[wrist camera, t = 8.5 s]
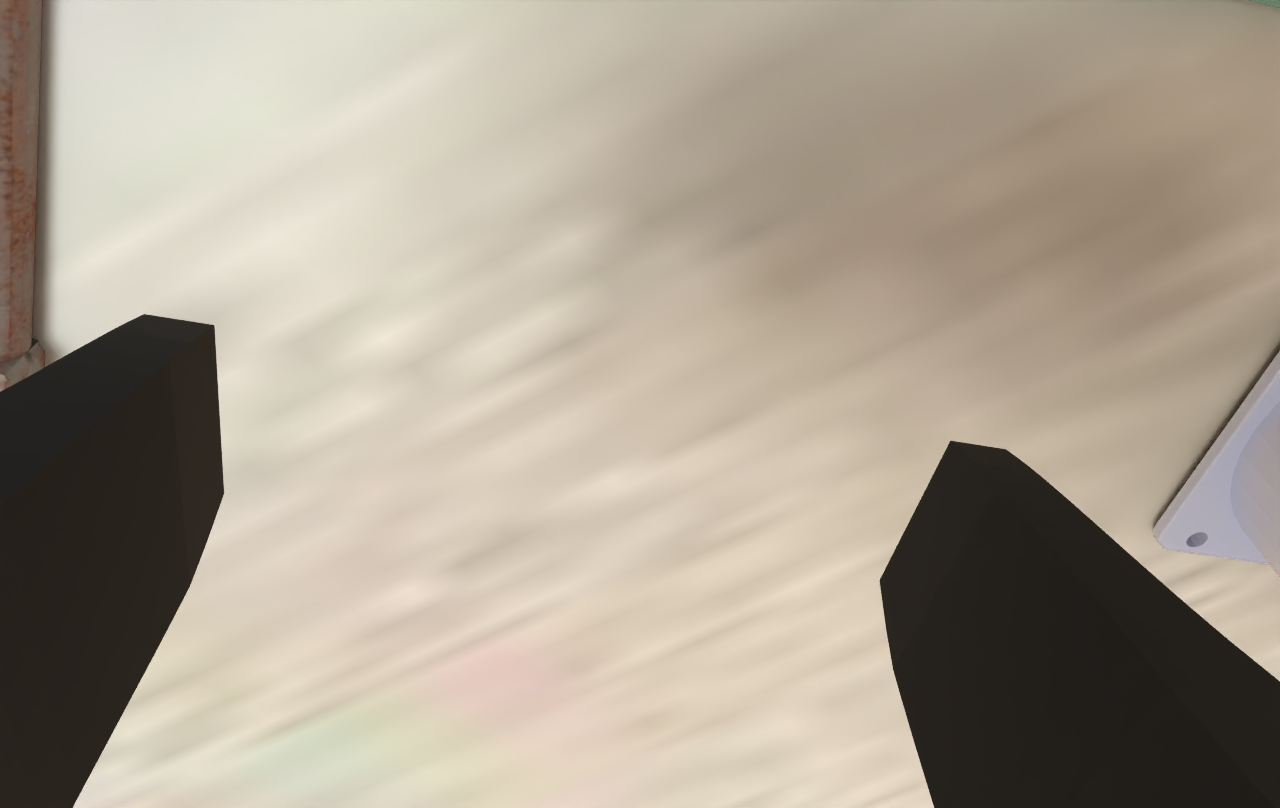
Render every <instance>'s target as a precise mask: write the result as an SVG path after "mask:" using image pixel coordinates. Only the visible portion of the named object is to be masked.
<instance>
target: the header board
mask: <svg viewBox="0 0 1280 808" xmlns="http://www.w3.org/2000/svg"><path fill="white" fill-rule="evenodd" d="M1249 1H1253V2H1258V3H1262V4H1266V5H1270V6H1274V7H1278V8H1280V0H1249Z"/></svg>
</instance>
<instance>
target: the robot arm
mask: <svg viewBox="0 0 1280 808" xmlns="http://www.w3.org/2000/svg"><path fill="white" fill-rule="evenodd" d="M223 495H224V485H223V468H222V451H221V433H220V416H219V399H218V381H217V364H216V347H215V329H214V325H209V324H203V323H196V322H190V321H184V320H177V319H171V318H165V317H158V316H152V315H145V314H144V315H142V316H140V317H138V318H135V319H133V320H131V321H129V322H127V323H125V324H123V325H121V326H119V327H117V328H115V329H114V330H112V331H110V332H108V333H106V334H104V335H102V336H101V337H99V338H97V339H95V340H93V341H91V342H90V343H88V344H86V345H84V346H82V347H81V348H79V349H77V350H75V351H73V352H72V353H70V354H68V355H66V356H64V357H63V358H61V359H59V360H57V361H55V362H54V363H52V364H50V365H48V366H46V367H45V368H43V369H41V370H39V371H37V372H36V373H34V374H32V375H30V376H28V377H27V378H25V379H23V380H21V381H19V382H17V383H16V384H14V385H12V386H10V387H8V388H6V389H4V390H3V391H1V392H0V808H73V806H74V804H75V802H76V800H77V798H78V796H79V794H80V793H81V791H82V789H83V787H84V785H85V783H86V781H87V779H88V778H89V776H90V774H91V772H92V770H93V768H94V766H95V764H96V763H97V761H98V759H99V757H100V755H101V753H102V751H103V749H104V748H105V746H106V744H107V742H108V740H109V738H110V736H111V734H112V733H113V731H114V729H115V727H116V725H117V723H118V721H119V720H120V718H121V716H122V714H123V712H124V710H125V708H126V706H127V705H128V703H129V701H130V699H131V697H132V695H133V693H134V691H135V690H136V688H137V686H138V684H139V682H140V680H141V678H142V677H143V675H144V673H145V671H146V669H147V667H148V665H149V663H150V662H151V660H152V658H153V656H154V654H155V652H156V650H157V648H158V646H159V644H160V643H161V641H162V639H163V637H164V635H165V633H166V631H167V629H168V627H169V625H170V623H171V622H172V620H173V618H174V616H175V614H176V612H177V610H178V608H179V606H180V604H181V602H182V600H183V598H184V596H185V595H186V593H187V591H188V589H189V587H190V584H191V582H192V579H193V577H194V574H195V571H196V569H197V566H198V564H199V561H200V558H201V556H202V553H203V551H204V548H205V545H206V543H207V540H208V537H209V534H210V531H211V529H212V526H213V523H214V520H215V517H216V515H217V512H218V509H219V506H220V503H221V500H222V498H223ZM1153 536H1154V537H1155V539H1156V540H1157V542H1158V543H1159V545H1160V546H1161V547H1162V548H1164V549H1167V550H1173V551H1180V552H1187V553H1194V554H1201V555H1208V556H1215V557H1222V558H1228V559H1235V560H1242V561H1249V562H1256V563H1263V564H1270V565H1271V567H1272V568H1273V569H1274V570H1275V572H1276V573H1277V574H1278V575H1279V577H1280V351H1279V352H1278V354H1277V355H1276V357H1275V358H1274V359H1273V361H1272V362H1271V364H1270V365H1269V367H1268V368H1267V369H1266V371H1265V372H1264V374H1263V375H1262V376H1261V378H1260V379H1259V381H1258V382H1257V383H1256V385H1255V386H1254V388H1253V389H1252V390H1251V392H1250V393H1249V395H1248V396H1247V397H1246V399H1245V400H1244V402H1243V403H1242V404H1241V406H1240V407H1239V409H1238V410H1237V411H1236V413H1235V414H1234V416H1233V417H1232V418H1231V420H1230V421H1229V423H1228V424H1227V425H1226V427H1225V428H1224V430H1223V431H1222V432H1221V434H1220V435H1219V437H1218V438H1217V439H1216V441H1215V442H1214V444H1213V445H1212V446H1211V448H1210V449H1209V451H1208V452H1207V454H1206V455H1205V456H1204V458H1203V459H1202V461H1201V462H1200V463H1199V465H1198V466H1197V468H1196V469H1195V470H1194V472H1193V473H1192V475H1191V476H1190V477H1189V479H1188V480H1187V482H1186V483H1185V484H1184V486H1183V487H1182V489H1181V490H1180V491H1179V493H1178V494H1177V496H1176V497H1175V498H1174V500H1173V501H1172V503H1171V504H1170V505H1169V507H1168V508H1167V510H1166V511H1165V512H1164V514H1163V515H1162V517H1161V518H1160V519H1159V521H1158V522H1157V524H1156V525H1155V527H1154V529H1153ZM880 586H881V594H882V601H883V609H884V616H885V623H886V630H887V636H888V642H889V648H890V653H891V659H892V665H893V670H894V674H895V677H896V681H897V684H898V688H899V692H900V695H901V699H902V702H903V705H904V709H905V712H906V715H907V719H908V722H909V726H910V729H911V732H912V736H913V739H914V743H915V746H916V749H917V752H918V756H919V759H920V762H921V766H922V769H923V772H924V775H925V779H926V782H927V785H928V788H929V792H930V795H931V798H932V802H933V805H934V808H1280V681H1278V680H1277V679H1276V678H1275V677H1274V676H1272V675H1271V674H1270V673H1269V672H1267V671H1266V670H1265V669H1264V668H1262V667H1261V666H1260V665H1259V664H1257V663H1256V662H1255V661H1254V660H1253V659H1251V658H1250V657H1249V656H1248V655H1246V654H1245V653H1244V652H1243V651H1241V650H1240V649H1239V648H1238V647H1236V646H1235V645H1234V644H1233V643H1232V642H1230V641H1229V640H1228V639H1227V638H1226V637H1224V636H1223V635H1222V634H1221V633H1220V632H1218V631H1217V630H1216V629H1215V628H1214V627H1213V626H1211V625H1210V624H1209V623H1208V622H1207V621H1205V620H1204V619H1203V618H1202V617H1201V616H1200V615H1198V614H1197V613H1196V612H1195V611H1194V610H1192V609H1191V608H1190V607H1189V606H1188V605H1187V604H1186V603H1184V602H1183V601H1182V600H1181V599H1180V598H1179V597H1177V596H1176V595H1175V594H1174V593H1173V592H1172V591H1171V590H1169V589H1168V588H1167V587H1166V586H1165V585H1164V584H1163V583H1161V582H1160V581H1159V580H1158V579H1157V578H1156V577H1155V576H1154V575H1152V574H1151V573H1150V572H1149V571H1148V570H1147V569H1146V568H1144V567H1143V566H1142V565H1141V564H1140V563H1139V562H1138V561H1137V560H1135V559H1134V558H1133V557H1132V556H1131V555H1130V554H1129V553H1128V552H1126V551H1125V550H1124V549H1123V548H1122V547H1121V546H1120V545H1119V544H1117V543H1116V542H1115V541H1114V540H1113V539H1112V538H1111V537H1110V536H1108V535H1107V534H1106V533H1105V532H1104V531H1103V530H1102V529H1101V528H1099V527H1098V526H1097V525H1096V524H1095V523H1094V522H1093V521H1092V520H1090V519H1089V518H1088V517H1087V516H1086V515H1085V514H1084V513H1083V512H1081V511H1080V510H1079V509H1078V508H1077V507H1076V506H1075V505H1074V504H1072V503H1071V502H1070V501H1069V500H1068V499H1067V498H1066V497H1064V496H1063V495H1062V494H1061V493H1060V492H1059V491H1057V490H1056V489H1055V488H1054V487H1053V486H1052V485H1050V484H1049V483H1048V482H1047V481H1046V480H1045V479H1043V478H1042V477H1041V476H1040V475H1039V474H1037V473H1036V472H1035V471H1034V470H1032V469H1031V468H1030V467H1029V466H1027V465H1026V464H1025V463H1024V462H1022V461H1021V460H1020V459H1018V458H1017V457H1015V456H1014V455H1013V454H1011V453H1010V452H1009V451H1007V450H1006V449H1000V448H993V447H987V446H981V445H974V444H968V443H961V442H955V441H950V443H949V445H948V447H947V449H946V451H945V453H944V455H943V457H942V459H941V460H940V462H939V464H938V466H937V468H936V470H935V472H934V474H933V476H932V478H931V480H930V482H929V484H928V486H927V488H926V490H925V492H924V494H923V496H922V498H921V500H920V502H919V504H918V506H917V508H916V510H915V512H914V514H913V516H912V518H911V520H910V522H909V524H908V526H907V528H906V530H905V531H904V533H903V535H902V537H901V539H900V541H899V543H898V545H897V547H896V549H895V551H894V553H893V555H892V557H891V559H890V561H889V563H888V565H887V567H886V569H885V571H884V573H883V575H882V577H881V579H880Z"/></svg>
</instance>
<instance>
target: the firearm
mask: <svg viewBox="0 0 1280 808" xmlns="http://www.w3.org/2000/svg"><path fill="white" fill-rule="evenodd" d="M41 26H42V0H0V392H1V391H3V390H4V389H6V388H8V387H10V386H12V385H14V384H16V383H17V382H19V381H21V380H23V379H25V378H27V377H28V376H30V375H32V374H34V373H36V372H37V371H39V370H41V369H43V368H45V350H44V349H43V348H42V347H41V346H40V344H39V343H38V341H36V340H32V311H33V279H34V247H35V216H36V184H37V153H38V121H39V89H40V58H41Z"/></svg>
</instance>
